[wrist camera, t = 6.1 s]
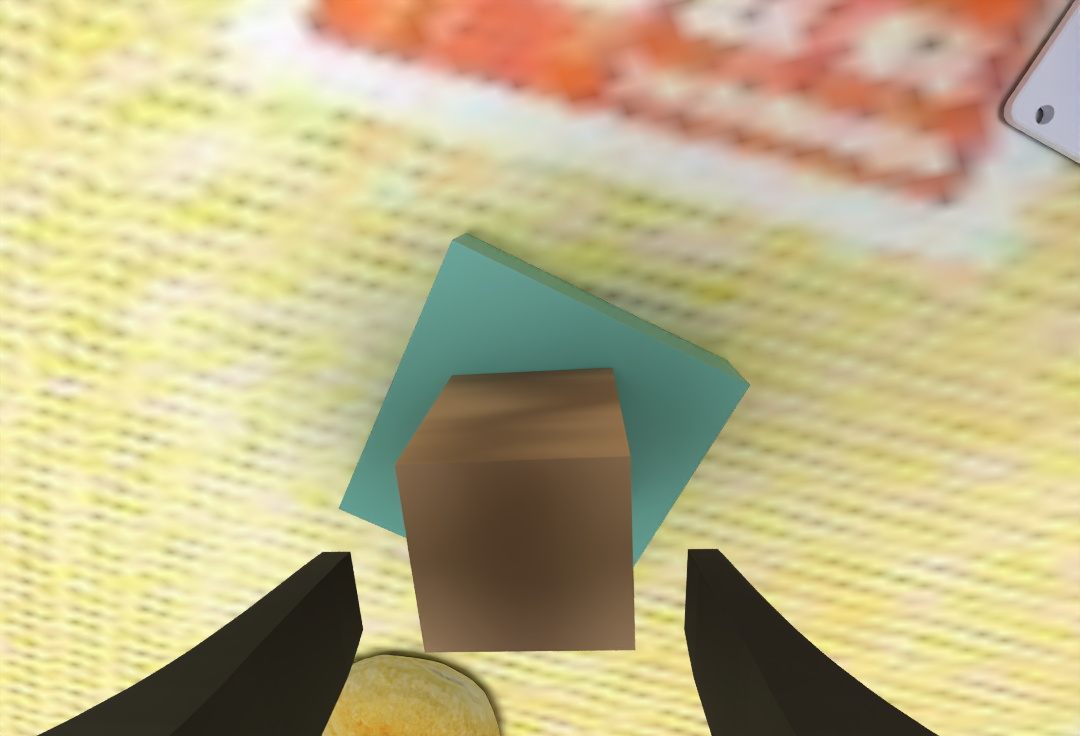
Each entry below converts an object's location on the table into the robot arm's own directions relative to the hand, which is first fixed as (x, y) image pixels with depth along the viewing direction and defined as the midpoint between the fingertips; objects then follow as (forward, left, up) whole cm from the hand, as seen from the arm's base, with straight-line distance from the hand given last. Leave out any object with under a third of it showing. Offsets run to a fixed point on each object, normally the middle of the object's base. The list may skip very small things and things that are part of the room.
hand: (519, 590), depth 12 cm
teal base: (0, 0, -10) cm, 10 cm away
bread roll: (-1, +16, -10) cm, 19 cm away
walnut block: (0, 0, -7) cm, 7 cm away
